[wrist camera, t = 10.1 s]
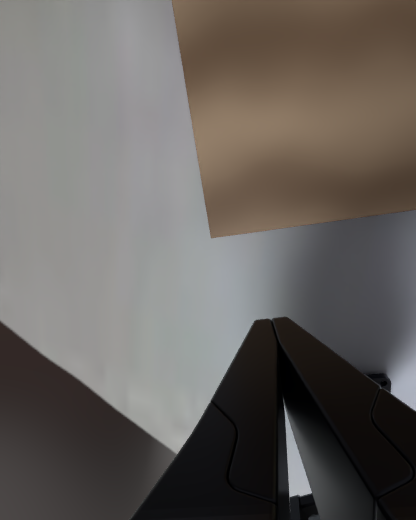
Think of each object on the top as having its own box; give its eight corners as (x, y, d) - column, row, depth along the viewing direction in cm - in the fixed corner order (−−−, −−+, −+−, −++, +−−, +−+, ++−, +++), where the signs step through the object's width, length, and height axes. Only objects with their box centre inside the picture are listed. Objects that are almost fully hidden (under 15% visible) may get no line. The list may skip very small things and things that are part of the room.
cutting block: (448, 194, 18) (475, 201, 16) (212, 227, 19) (211, 238, 17) (492, -203, 12) (540, -262, 10) (157, -116, 14) (146, -155, 12)
